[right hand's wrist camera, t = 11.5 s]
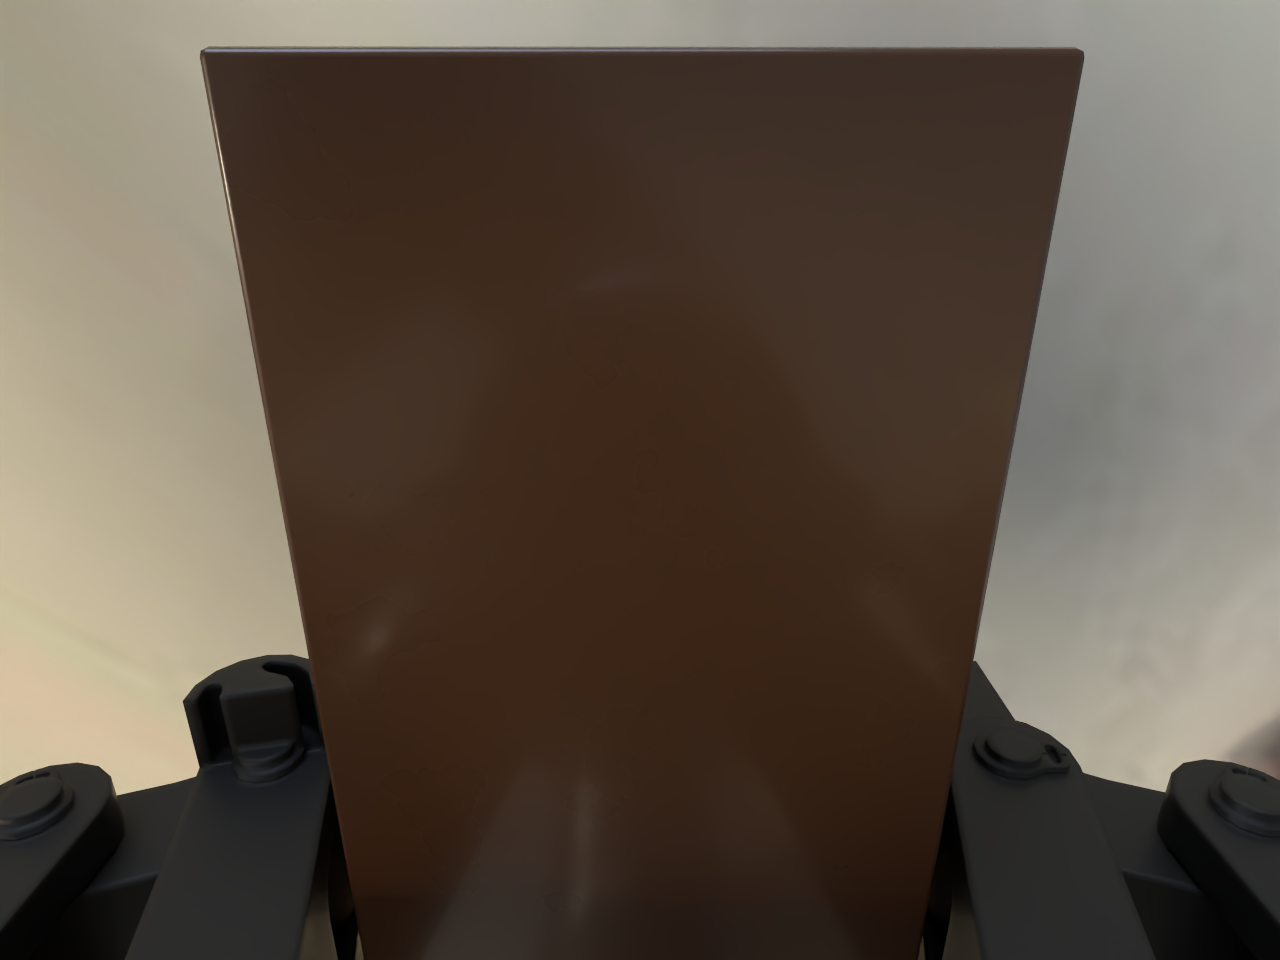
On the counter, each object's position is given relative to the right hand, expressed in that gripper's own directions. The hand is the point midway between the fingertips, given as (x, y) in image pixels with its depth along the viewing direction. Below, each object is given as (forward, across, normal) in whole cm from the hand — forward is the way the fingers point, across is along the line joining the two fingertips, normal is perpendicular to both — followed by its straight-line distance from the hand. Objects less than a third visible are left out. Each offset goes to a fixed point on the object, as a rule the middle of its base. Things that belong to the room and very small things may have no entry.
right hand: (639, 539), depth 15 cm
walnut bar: (0, 0, -10) cm, 10 cm away
